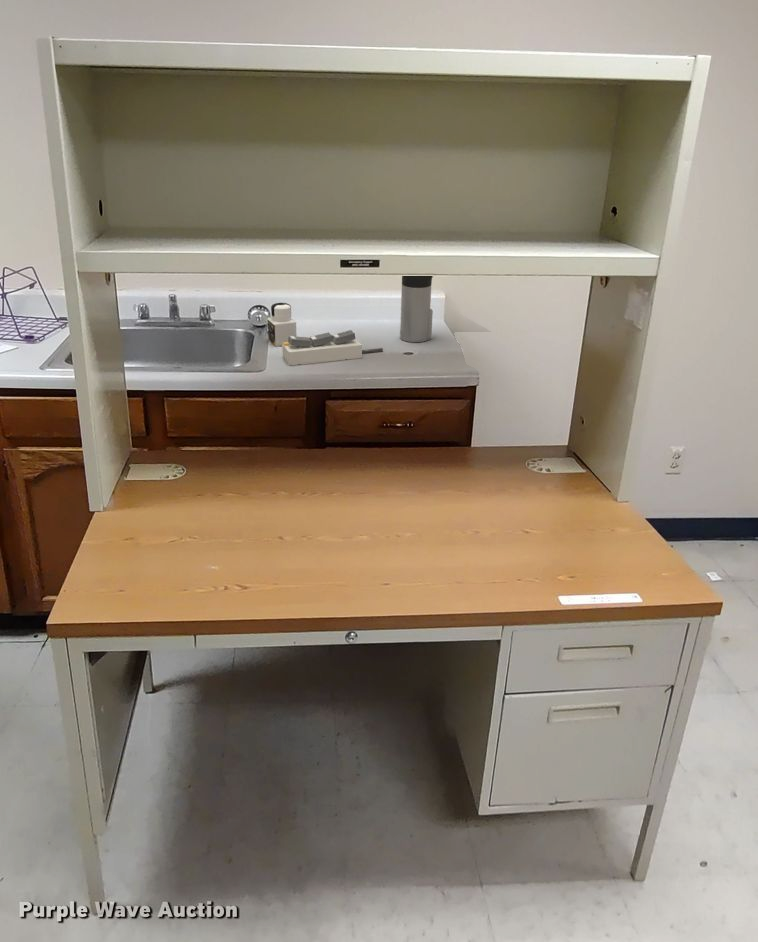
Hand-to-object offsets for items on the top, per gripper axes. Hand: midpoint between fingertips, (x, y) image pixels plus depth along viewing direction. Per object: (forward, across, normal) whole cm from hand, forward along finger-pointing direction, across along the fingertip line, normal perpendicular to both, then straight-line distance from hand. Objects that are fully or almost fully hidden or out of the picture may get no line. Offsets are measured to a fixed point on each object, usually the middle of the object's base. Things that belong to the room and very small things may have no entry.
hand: (334, 248), depth 222 cm
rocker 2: (+25, 0, +11) cm, 27 cm away
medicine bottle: (+29, +15, -7) cm, 34 cm away
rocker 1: (+25, +14, +11) cm, 31 cm away
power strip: (+29, +4, +11) cm, 31 cm away
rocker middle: (+25, +8, +11) cm, 28 cm away
